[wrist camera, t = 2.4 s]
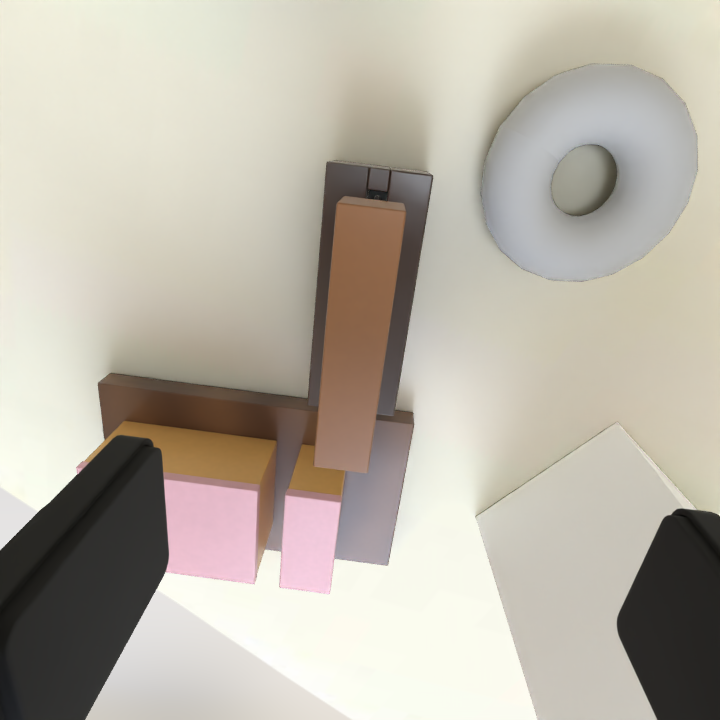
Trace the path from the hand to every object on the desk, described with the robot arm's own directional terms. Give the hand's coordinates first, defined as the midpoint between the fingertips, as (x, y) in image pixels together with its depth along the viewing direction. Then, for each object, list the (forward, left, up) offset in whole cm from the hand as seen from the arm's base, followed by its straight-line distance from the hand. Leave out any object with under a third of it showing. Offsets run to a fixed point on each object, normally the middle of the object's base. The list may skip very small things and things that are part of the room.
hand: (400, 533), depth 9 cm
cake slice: (-3, -15, -19) cm, 24 cm away
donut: (+8, +6, -21) cm, 23 cm away
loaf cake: (-11, -15, -19) cm, 26 cm away
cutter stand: (-2, -1, -20) cm, 20 cm away
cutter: (-2, -1, -20) cm, 20 cm away
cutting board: (-8, -15, -20) cm, 26 cm away
